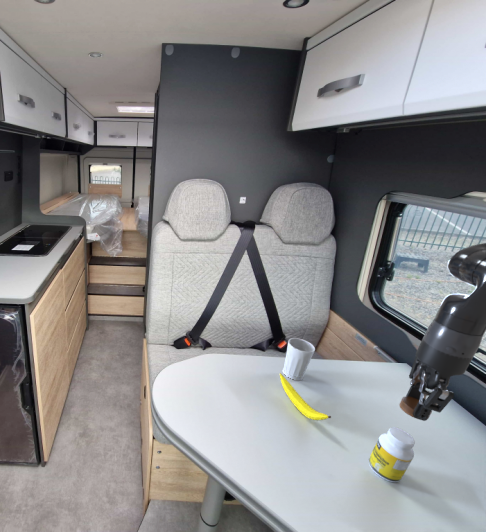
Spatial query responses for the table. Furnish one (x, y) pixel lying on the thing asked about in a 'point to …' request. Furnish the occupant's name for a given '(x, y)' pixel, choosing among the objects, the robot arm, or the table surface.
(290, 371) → the cup
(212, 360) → the table surface
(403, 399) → the brown bottle cap
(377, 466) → the pill bottle
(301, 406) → the banana
